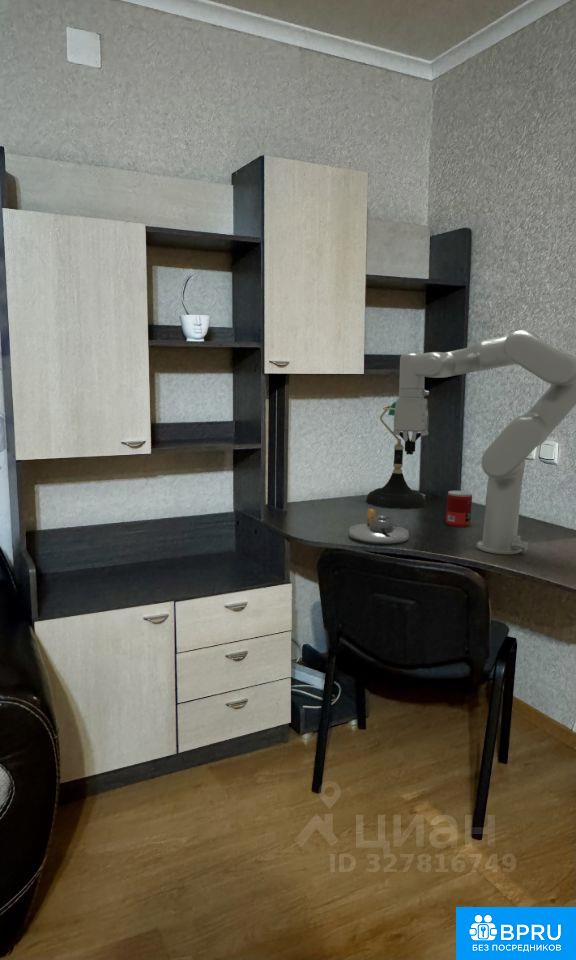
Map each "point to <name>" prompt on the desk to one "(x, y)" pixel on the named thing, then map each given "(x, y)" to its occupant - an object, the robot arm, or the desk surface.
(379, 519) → the cover
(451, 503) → the canned food
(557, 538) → the desk surface
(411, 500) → the banker's lamp
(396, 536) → the turntable
